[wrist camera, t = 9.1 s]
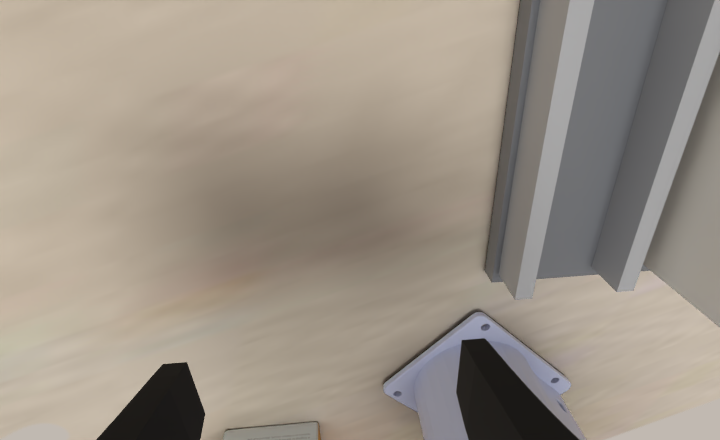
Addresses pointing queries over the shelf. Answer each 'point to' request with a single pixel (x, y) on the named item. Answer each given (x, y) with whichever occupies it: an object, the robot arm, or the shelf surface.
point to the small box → (276, 432)
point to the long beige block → (694, 214)
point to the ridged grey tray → (595, 134)
